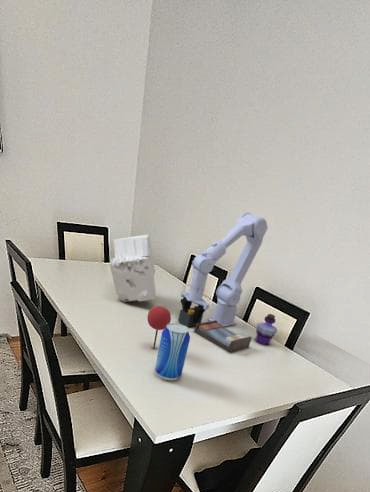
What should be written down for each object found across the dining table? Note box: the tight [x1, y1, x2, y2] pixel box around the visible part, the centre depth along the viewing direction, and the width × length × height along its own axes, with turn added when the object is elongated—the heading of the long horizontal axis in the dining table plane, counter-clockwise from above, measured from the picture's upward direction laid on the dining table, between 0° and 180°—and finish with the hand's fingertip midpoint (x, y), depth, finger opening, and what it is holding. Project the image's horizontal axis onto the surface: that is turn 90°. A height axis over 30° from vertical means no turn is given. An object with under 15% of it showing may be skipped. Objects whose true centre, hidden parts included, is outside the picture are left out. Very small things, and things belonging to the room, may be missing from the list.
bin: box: [177, 307, 204, 328], centre depth 157 cm, size 8×6×5 cm
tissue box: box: [109, 233, 157, 303], centre depth 163 cm, size 20×16×25 cm
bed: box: [194, 320, 252, 354], centre depth 151 cm, size 12×19×4 cm, turn 44°
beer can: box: [154, 322, 191, 382], centre depth 115 cm, size 8×8×16 cm
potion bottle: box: [255, 313, 279, 346], centre depth 156 cm, size 9×9×12 cm
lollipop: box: [147, 305, 172, 350], centre depth 129 cm, size 8×8×15 cm
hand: (190, 319), depth 158 cm, fingers closed on bin, 5 cm apart
